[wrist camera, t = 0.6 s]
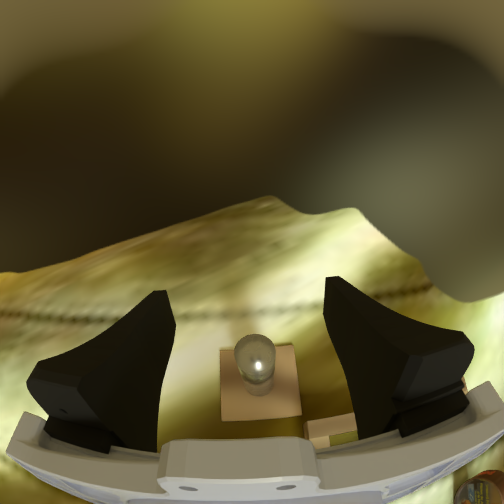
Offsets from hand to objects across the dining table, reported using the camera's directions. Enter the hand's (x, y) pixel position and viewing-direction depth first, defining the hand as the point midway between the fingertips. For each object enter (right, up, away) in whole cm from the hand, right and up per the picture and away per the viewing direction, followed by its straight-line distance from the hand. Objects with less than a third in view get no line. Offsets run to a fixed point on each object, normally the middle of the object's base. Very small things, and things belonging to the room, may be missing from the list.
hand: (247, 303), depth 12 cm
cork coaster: (+1, -11, +14) cm, 18 cm away
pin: (+1, -11, +14) cm, 18 cm away
